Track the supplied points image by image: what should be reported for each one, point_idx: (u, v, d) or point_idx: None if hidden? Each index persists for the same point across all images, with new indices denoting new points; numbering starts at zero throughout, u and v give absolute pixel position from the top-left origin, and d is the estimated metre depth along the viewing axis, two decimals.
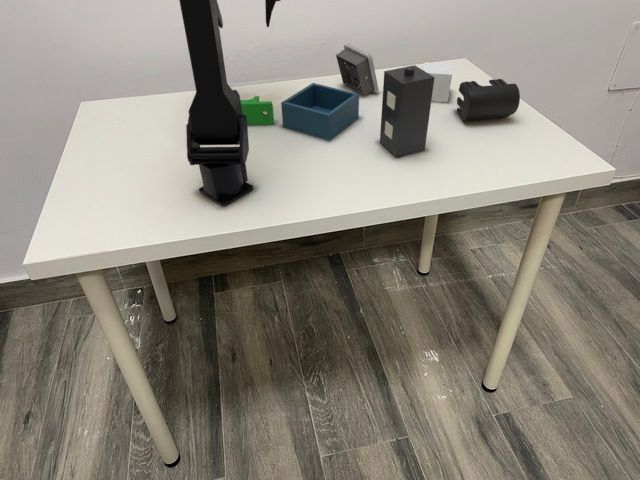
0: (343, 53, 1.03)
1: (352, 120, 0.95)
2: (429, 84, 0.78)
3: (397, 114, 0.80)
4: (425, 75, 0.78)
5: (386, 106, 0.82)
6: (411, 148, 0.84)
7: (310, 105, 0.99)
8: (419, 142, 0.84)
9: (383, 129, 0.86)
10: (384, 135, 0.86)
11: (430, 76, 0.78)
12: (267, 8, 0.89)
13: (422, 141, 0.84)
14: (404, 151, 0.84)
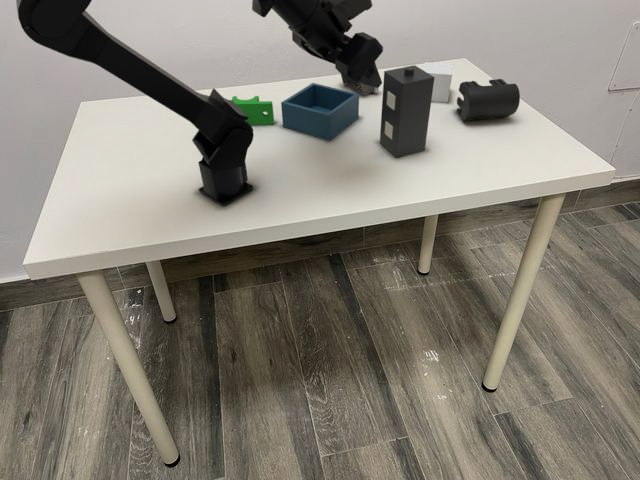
0: None
1: (352, 120, 0.95)
2: (429, 84, 0.78)
3: (397, 114, 0.80)
4: (425, 75, 0.78)
5: (386, 106, 0.82)
6: (411, 148, 0.84)
7: (310, 105, 0.99)
8: (419, 142, 0.84)
9: (383, 129, 0.86)
10: (384, 135, 0.86)
11: (430, 76, 0.78)
12: None
13: (422, 141, 0.84)
14: (404, 151, 0.84)
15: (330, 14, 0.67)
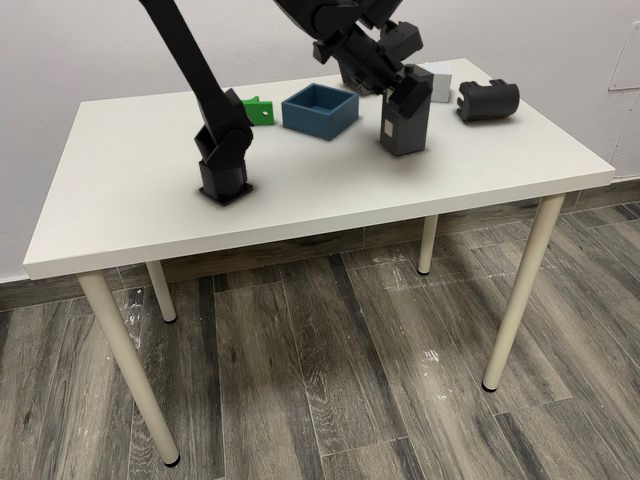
0: None
1: (352, 120, 0.95)
2: (429, 81, 0.78)
3: None
4: (425, 72, 0.78)
5: (386, 104, 0.83)
6: (411, 146, 0.84)
7: (310, 105, 0.99)
8: (419, 140, 0.84)
9: (383, 128, 0.86)
10: (384, 134, 0.86)
11: (430, 73, 0.78)
12: None
13: (422, 139, 0.84)
14: (404, 149, 0.84)
15: (384, 57, 0.72)
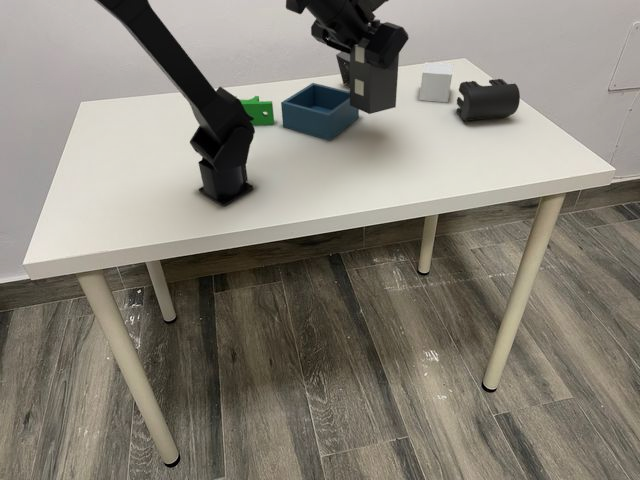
0: (343, 53, 1.03)
1: (352, 120, 0.95)
2: None
3: (368, 66, 0.79)
4: None
5: (355, 63, 0.82)
6: (383, 104, 0.84)
7: (310, 105, 0.99)
8: (390, 97, 0.84)
9: (353, 89, 0.85)
10: (354, 95, 0.85)
11: None
12: None
13: (393, 97, 0.85)
14: (377, 107, 0.84)
15: (356, 7, 0.72)
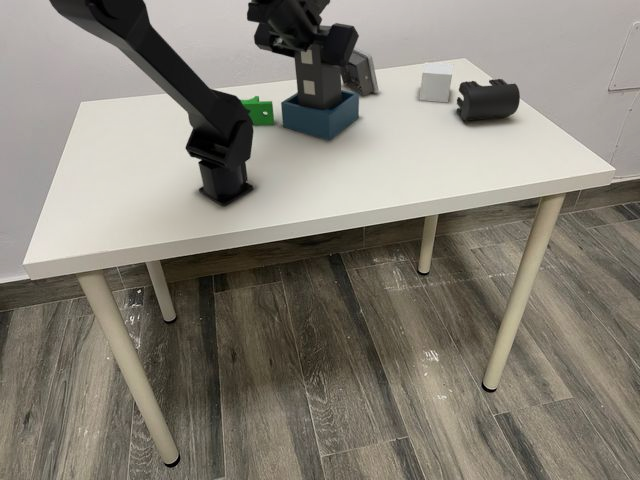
0: None
1: (352, 120, 0.95)
2: None
3: (318, 66, 0.84)
4: (330, 27, 0.85)
5: (301, 65, 0.86)
6: (333, 100, 0.90)
7: None
8: (337, 93, 0.90)
9: (301, 90, 0.89)
10: (304, 95, 0.90)
11: None
12: None
13: (339, 92, 0.91)
14: (328, 103, 0.89)
15: (306, 12, 0.76)
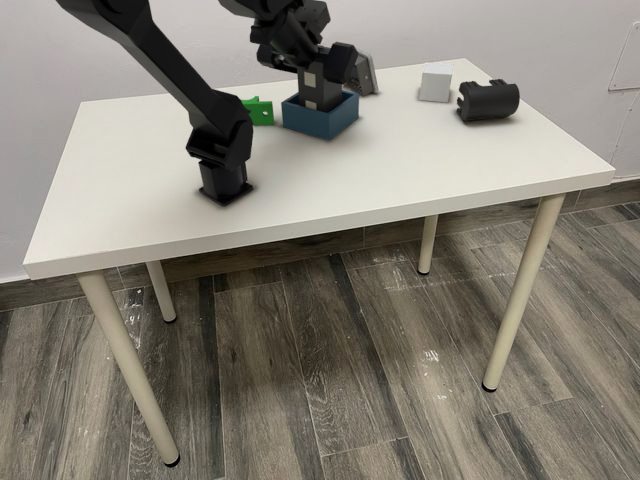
0: None
1: (352, 120, 0.95)
2: None
3: (320, 90, 0.86)
4: None
5: (304, 86, 0.88)
6: None
7: None
8: None
9: None
10: None
11: None
12: None
13: None
14: None
15: (307, 32, 0.78)
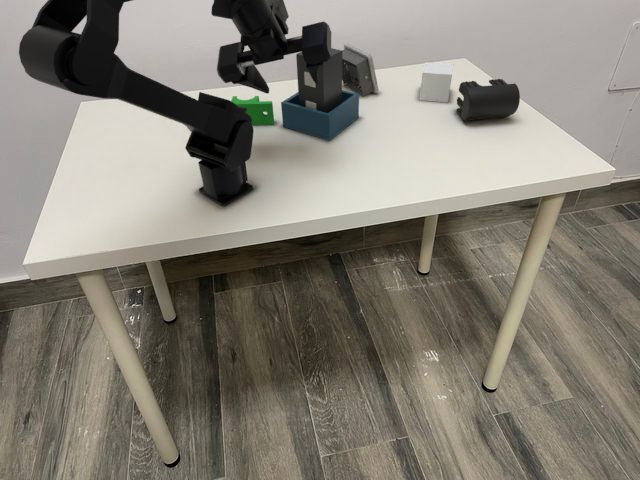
0: (343, 53, 1.03)
1: (352, 120, 0.95)
2: (339, 57, 0.86)
3: (320, 90, 0.86)
4: (333, 50, 0.86)
5: (304, 86, 0.88)
6: None
7: None
8: None
9: None
10: None
11: (338, 50, 0.86)
12: (311, 72, 0.76)
13: None
14: None
15: None
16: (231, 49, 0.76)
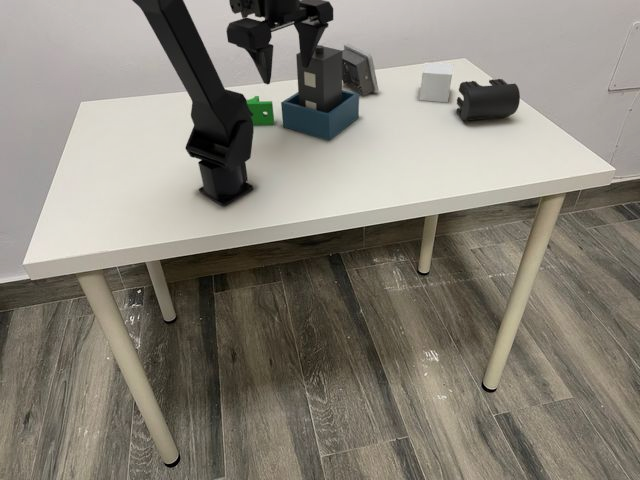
0: (343, 53, 1.03)
1: (352, 120, 0.95)
2: (339, 57, 0.86)
3: (320, 90, 0.86)
4: (333, 50, 0.86)
5: (304, 86, 0.88)
6: None
7: None
8: None
9: None
10: None
11: (338, 50, 0.86)
12: (316, 40, 0.79)
13: None
14: None
15: None
16: (246, 20, 0.71)
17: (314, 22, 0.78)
